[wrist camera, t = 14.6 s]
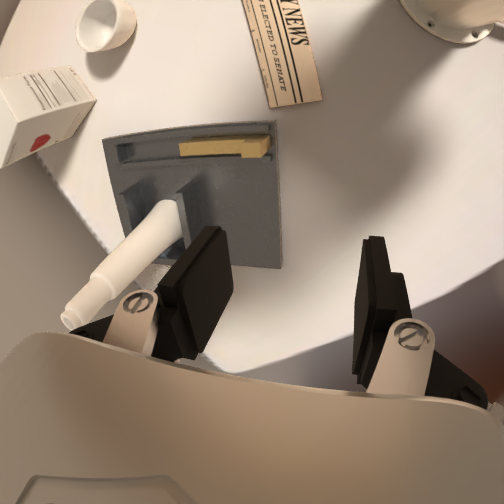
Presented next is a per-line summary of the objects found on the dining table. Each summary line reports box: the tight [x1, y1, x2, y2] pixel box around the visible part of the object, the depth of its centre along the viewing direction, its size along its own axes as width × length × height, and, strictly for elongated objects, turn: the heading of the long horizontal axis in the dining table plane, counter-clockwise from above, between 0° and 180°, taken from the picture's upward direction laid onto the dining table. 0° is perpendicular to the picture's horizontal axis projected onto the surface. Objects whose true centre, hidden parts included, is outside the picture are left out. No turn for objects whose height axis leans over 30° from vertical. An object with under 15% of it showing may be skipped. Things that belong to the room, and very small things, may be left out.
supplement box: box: [0, 66, 97, 168], centre depth 31 cm, size 9×9×15 cm
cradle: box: [102, 120, 282, 269], centre depth 39 cm, size 25×20×5 cm
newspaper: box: [243, 0, 322, 108], centre depth 25 cm, size 24×7×2 cm, turn 13°
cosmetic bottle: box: [61, 200, 183, 331], centre depth 33 cm, size 6×6×22 cm
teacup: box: [76, 0, 137, 52], centre depth 27 cm, size 10×8×5 cm
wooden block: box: [179, 135, 271, 158], centre depth 32 cm, size 10×2×5 cm, turn 95°
